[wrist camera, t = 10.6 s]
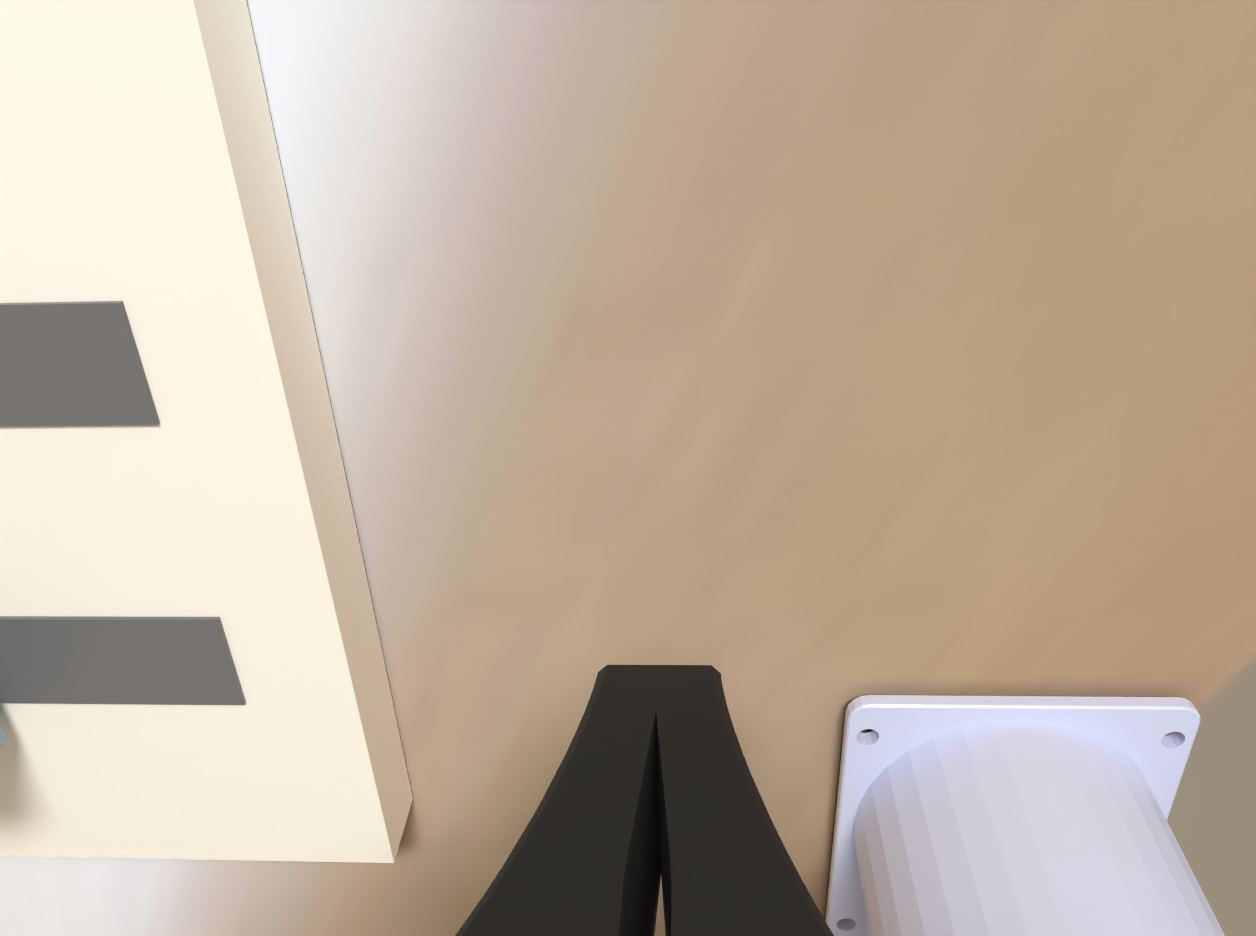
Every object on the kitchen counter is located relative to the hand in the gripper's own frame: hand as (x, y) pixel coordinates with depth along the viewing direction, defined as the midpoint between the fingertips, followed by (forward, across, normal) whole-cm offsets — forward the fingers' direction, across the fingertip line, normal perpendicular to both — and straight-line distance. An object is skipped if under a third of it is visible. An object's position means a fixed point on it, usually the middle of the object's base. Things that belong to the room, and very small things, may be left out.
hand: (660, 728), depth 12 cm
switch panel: (+9, +14, +2) cm, 17 cm away
